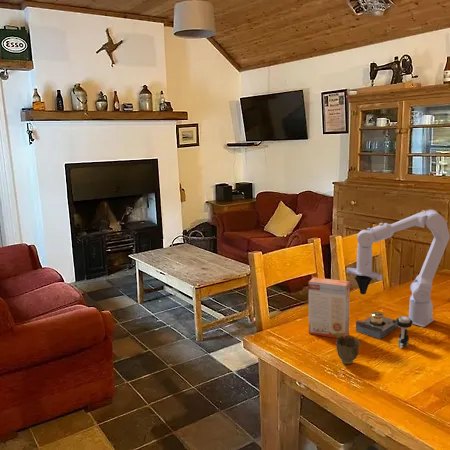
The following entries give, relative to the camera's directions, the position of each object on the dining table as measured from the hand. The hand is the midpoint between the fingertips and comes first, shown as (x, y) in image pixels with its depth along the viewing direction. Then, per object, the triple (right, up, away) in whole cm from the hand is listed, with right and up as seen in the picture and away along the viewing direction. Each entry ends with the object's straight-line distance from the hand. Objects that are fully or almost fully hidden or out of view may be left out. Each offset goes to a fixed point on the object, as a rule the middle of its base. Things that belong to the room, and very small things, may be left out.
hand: (363, 293), depth 181 cm
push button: (+7, -15, -22) cm, 28 cm away
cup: (-15, -18, -33) cm, 40 cm away
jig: (+3, -12, -9) cm, 15 cm away
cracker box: (-16, -14, -11) cm, 24 cm away
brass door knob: (+3, -12, -8) cm, 15 cm away
